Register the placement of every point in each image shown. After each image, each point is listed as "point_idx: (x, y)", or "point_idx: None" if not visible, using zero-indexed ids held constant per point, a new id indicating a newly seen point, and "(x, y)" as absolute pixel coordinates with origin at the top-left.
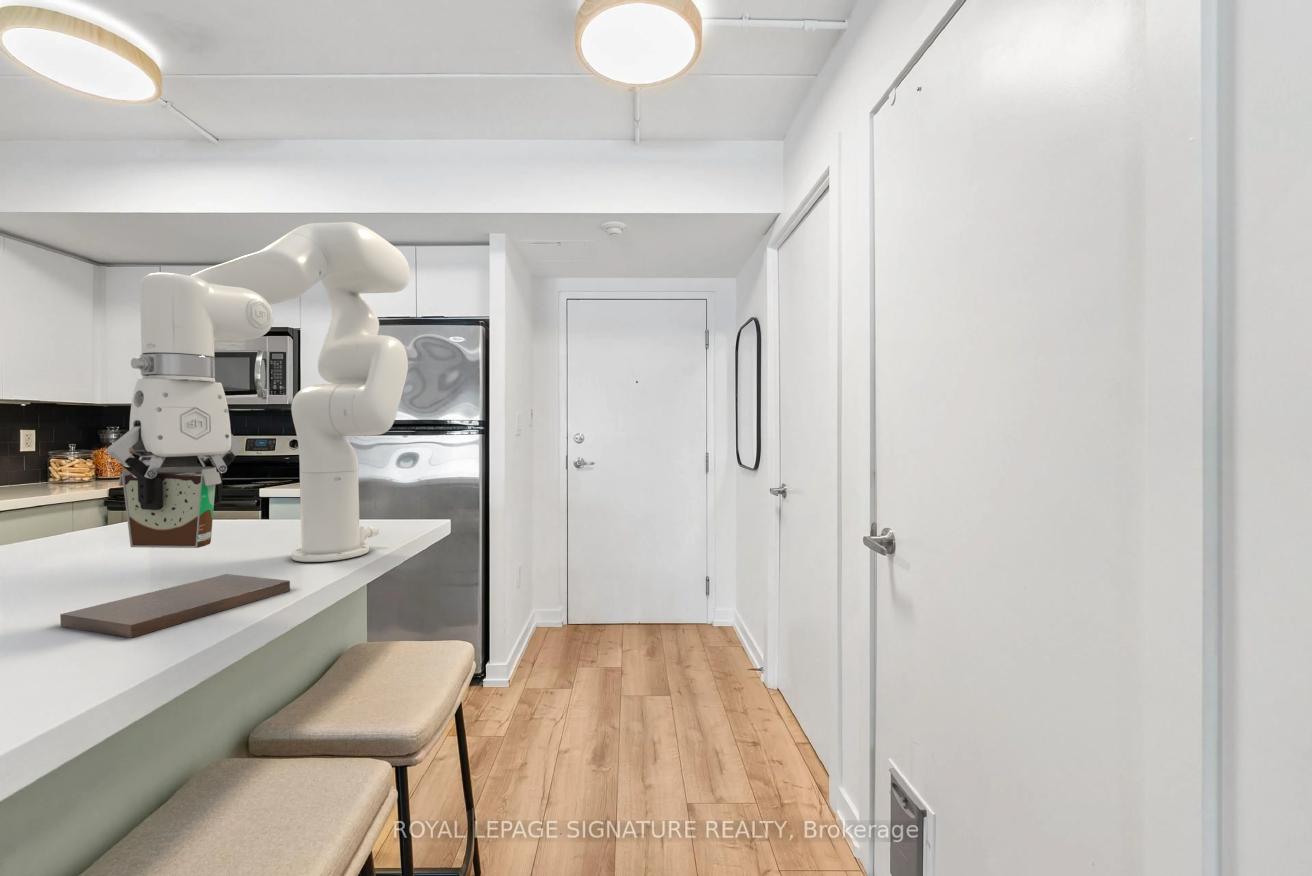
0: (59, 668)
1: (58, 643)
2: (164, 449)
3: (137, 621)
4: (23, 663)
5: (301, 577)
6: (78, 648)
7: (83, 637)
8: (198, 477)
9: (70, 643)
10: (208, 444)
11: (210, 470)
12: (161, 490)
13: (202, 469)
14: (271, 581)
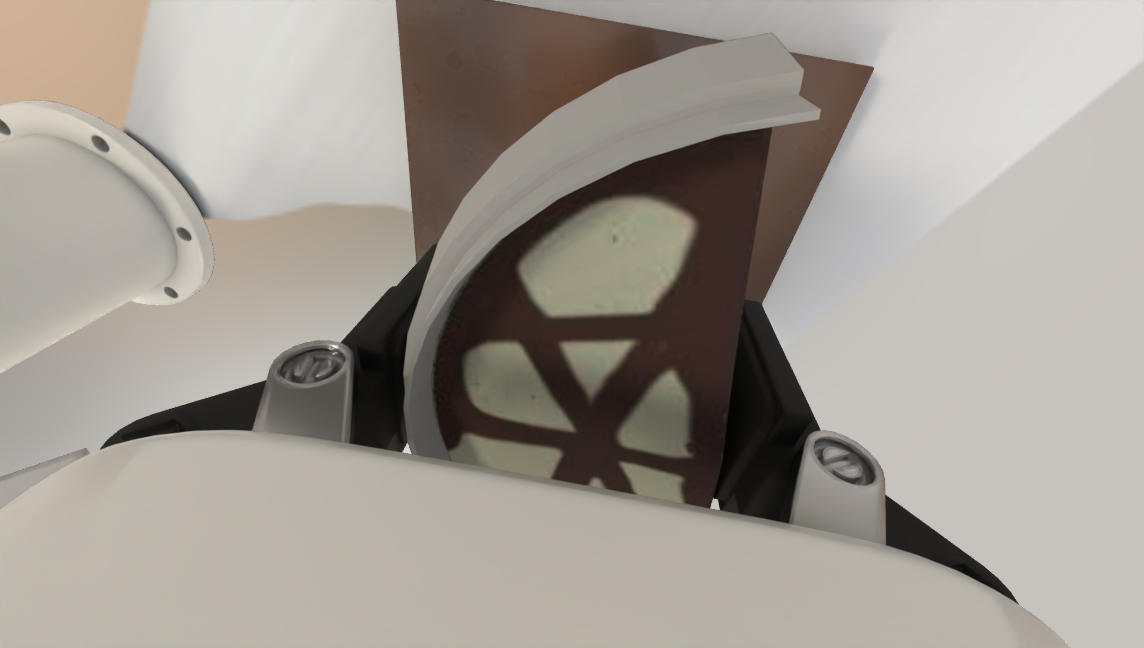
0: (1087, 18)
1: (863, 211)
2: (1001, 637)
3: (841, 81)
4: (1002, 154)
5: (296, 93)
6: (915, 130)
7: (828, 197)
8: (762, 160)
9: (869, 185)
10: (361, 577)
11: (657, 136)
12: (752, 358)
13: (423, 438)
14: (426, 47)
